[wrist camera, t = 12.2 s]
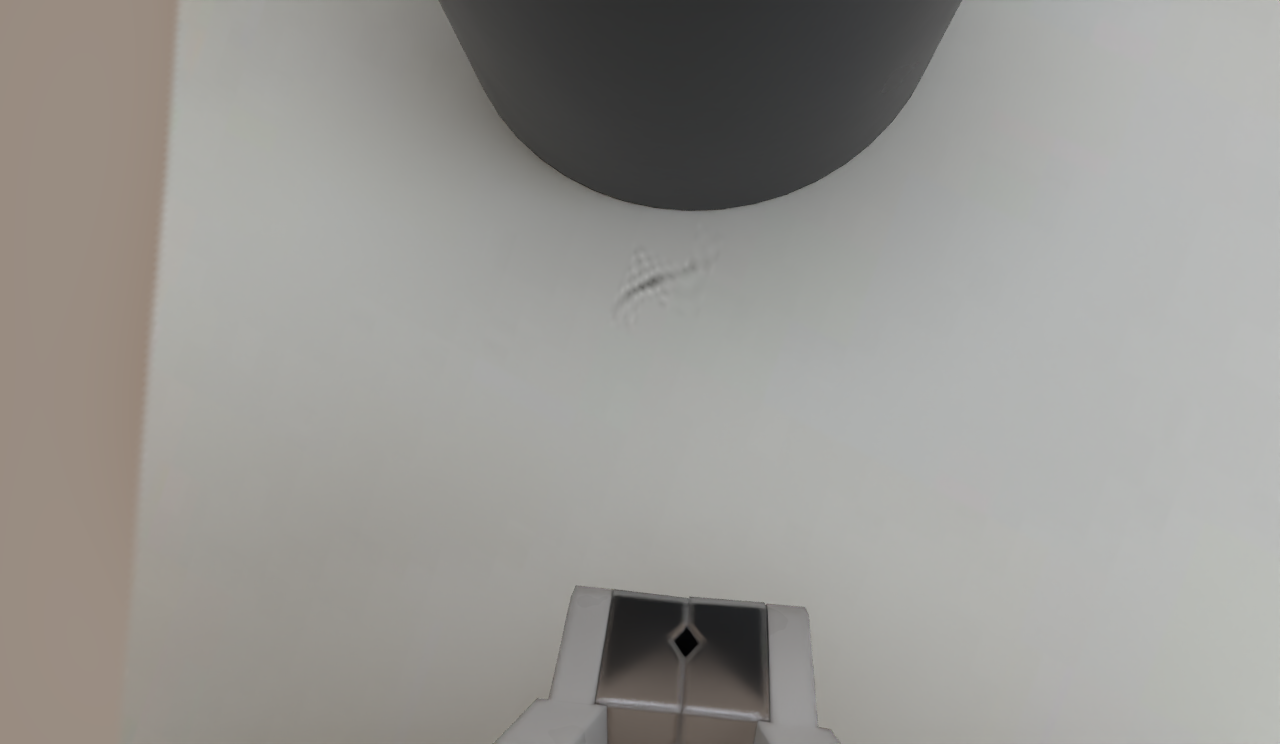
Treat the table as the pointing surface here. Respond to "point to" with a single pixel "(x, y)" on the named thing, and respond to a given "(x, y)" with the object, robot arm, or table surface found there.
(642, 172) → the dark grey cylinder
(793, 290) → the table surface
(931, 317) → the table surface
